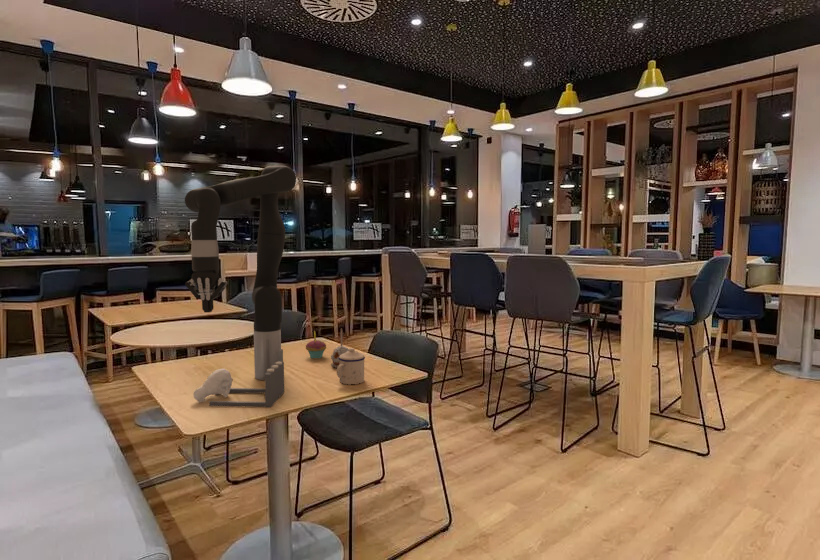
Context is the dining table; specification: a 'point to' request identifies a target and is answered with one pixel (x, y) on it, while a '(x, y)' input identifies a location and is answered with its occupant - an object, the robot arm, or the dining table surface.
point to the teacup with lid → (351, 367)
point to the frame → (261, 389)
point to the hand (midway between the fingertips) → (208, 312)
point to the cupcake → (316, 348)
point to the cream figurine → (214, 385)
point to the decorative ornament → (338, 353)
